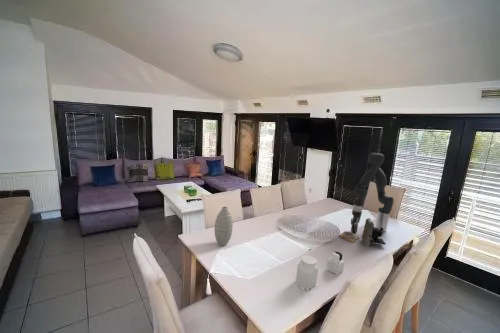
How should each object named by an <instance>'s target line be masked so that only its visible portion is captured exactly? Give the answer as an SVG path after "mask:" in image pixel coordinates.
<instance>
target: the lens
mask: <svg viewBox="0 0 500 333" xmlns="http://www.w3.org/2000/svg"><path fill="white" fill-rule="evenodd" d="M354 222H356V221H354ZM359 223H360V221H357V222H356V224H355V229H352V225H350V226H351V227H350V232H351V233H354V234H355V233H356V234H357V233H358V228H359Z"/></svg>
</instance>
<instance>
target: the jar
mask: <svg viewBox="0 0 500 333" xmlns="http://www.w3.org/2000/svg"><path fill="white" fill-rule="evenodd" d="M296 269H297V270H296V276H295V284H296V283H297V284H298V285H299V286H300V287H302V288H304V289H303V290H305V289H310V288H311V287H312V286H314V287H316V286H317V282H318V281H317V279H318V273H319V268H318V266H317V260H316V258H315V257H313V256H311V255H303V256H301V260H300V261H299V262H298V264H297V268H296ZM297 284H296V285H297ZM298 285H297V286H298ZM315 285H316V286H315ZM299 286H298V287H299ZM300 287H299V288H300ZM302 288H301V289H302ZM312 288H313V287H312ZM312 288H311V289H312ZM311 289H310V290H311Z"/></svg>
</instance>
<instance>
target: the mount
mask: <svg viewBox="0 0 500 333" xmlns="http://www.w3.org/2000/svg"><path fill="white" fill-rule="evenodd" d="M338 235H339V234H338ZM338 238H341V239H343V240H345V241H348V242H349V243H352V244H353V243H354V242H356V241H358V240H359V239H360V237H359V236H357V235H355V233H354V232H352V231H343V232H342V233H340V235H339V237H338Z"/></svg>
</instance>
